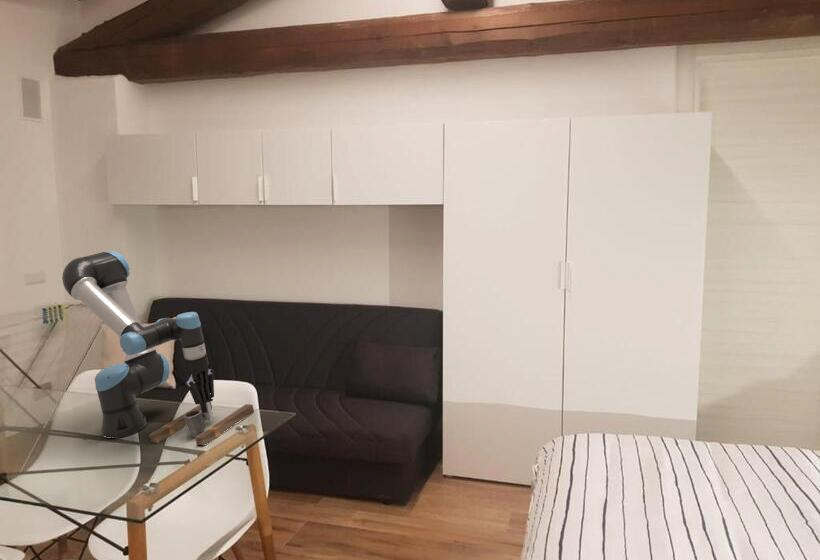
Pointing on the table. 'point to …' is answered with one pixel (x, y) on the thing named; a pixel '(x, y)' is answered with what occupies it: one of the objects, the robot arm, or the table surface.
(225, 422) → the guide rails
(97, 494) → the table surface
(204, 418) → the pipe
